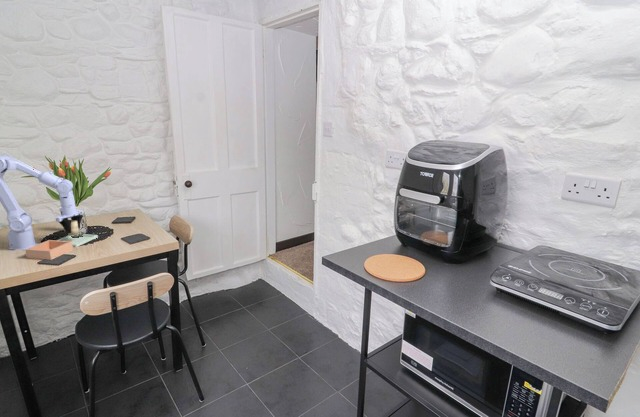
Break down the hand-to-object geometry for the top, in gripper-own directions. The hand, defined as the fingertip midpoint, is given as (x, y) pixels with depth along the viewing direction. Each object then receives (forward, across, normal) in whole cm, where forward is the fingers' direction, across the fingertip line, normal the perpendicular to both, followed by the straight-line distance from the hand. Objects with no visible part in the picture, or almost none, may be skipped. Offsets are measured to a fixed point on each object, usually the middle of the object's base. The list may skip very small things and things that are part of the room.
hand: (73, 231), depth 174 cm
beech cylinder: (+2, 0, 0) cm, 2 cm away
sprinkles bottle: (+6, +15, +17) cm, 23 cm away
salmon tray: (+6, -16, -2) cm, 17 cm away
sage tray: (+6, 0, 0) cm, 6 cm away
